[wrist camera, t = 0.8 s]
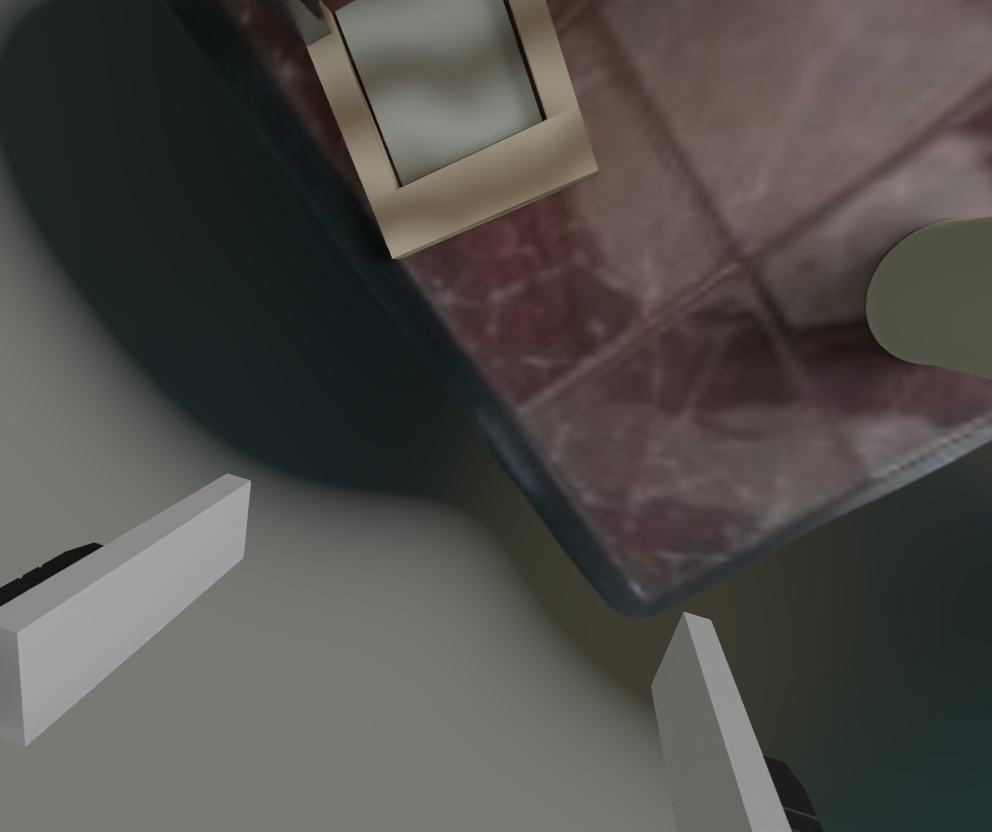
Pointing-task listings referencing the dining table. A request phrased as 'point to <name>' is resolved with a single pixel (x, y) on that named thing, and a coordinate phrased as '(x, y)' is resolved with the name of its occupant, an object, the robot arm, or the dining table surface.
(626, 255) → the dining table surface
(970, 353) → the can
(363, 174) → the beige flat square frame
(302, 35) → the grey curved bar
